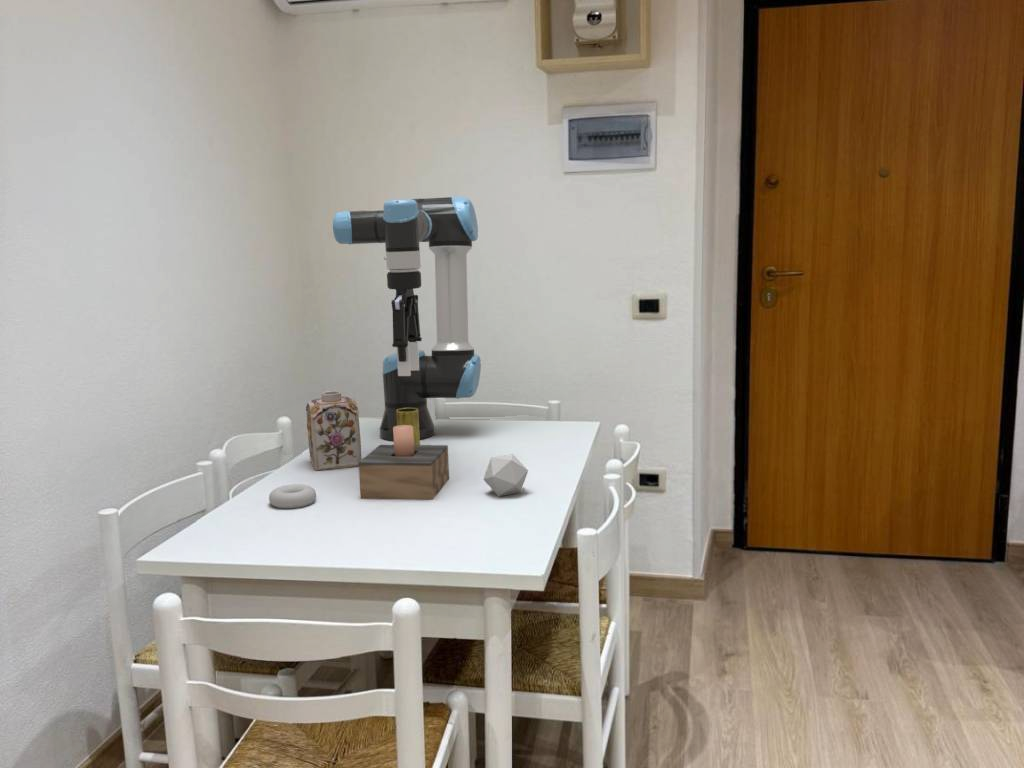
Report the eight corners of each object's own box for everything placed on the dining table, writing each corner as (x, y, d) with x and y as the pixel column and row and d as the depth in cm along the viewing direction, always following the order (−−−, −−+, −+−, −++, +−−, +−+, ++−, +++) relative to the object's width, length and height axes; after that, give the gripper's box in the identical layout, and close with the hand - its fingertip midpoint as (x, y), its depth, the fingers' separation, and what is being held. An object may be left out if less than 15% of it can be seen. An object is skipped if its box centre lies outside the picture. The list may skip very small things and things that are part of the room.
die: (517, 487, 215) (489, 453, 214) (542, 474, 209) (513, 439, 208) (498, 510, 209) (468, 475, 208) (523, 497, 203) (493, 461, 202)
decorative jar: (355, 455, 246) (351, 386, 243) (363, 466, 235) (358, 394, 232) (308, 460, 243) (303, 390, 239) (313, 471, 232) (308, 398, 229)
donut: (311, 495, 213) (265, 501, 209) (310, 480, 212) (264, 485, 209) (321, 507, 204) (273, 513, 200) (320, 491, 203) (272, 497, 199)
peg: (398, 458, 216) (396, 424, 215) (416, 458, 215) (415, 425, 214) (392, 463, 212) (390, 429, 210) (411, 463, 211) (410, 429, 210)
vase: (418, 470, 229) (415, 412, 227) (394, 470, 230) (390, 412, 228) (425, 464, 235) (423, 407, 233) (401, 463, 236) (398, 407, 234)
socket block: (382, 478, 224) (380, 444, 222) (449, 479, 221) (447, 445, 220) (360, 498, 208) (358, 462, 207) (432, 499, 205) (430, 463, 204)
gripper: (399, 268, 223) (404, 366, 227) (374, 273, 204) (380, 380, 208) (430, 267, 222) (435, 365, 226) (408, 273, 203) (413, 380, 207)
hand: (408, 372), depth 217 cm, fingers open, 7 cm apart
